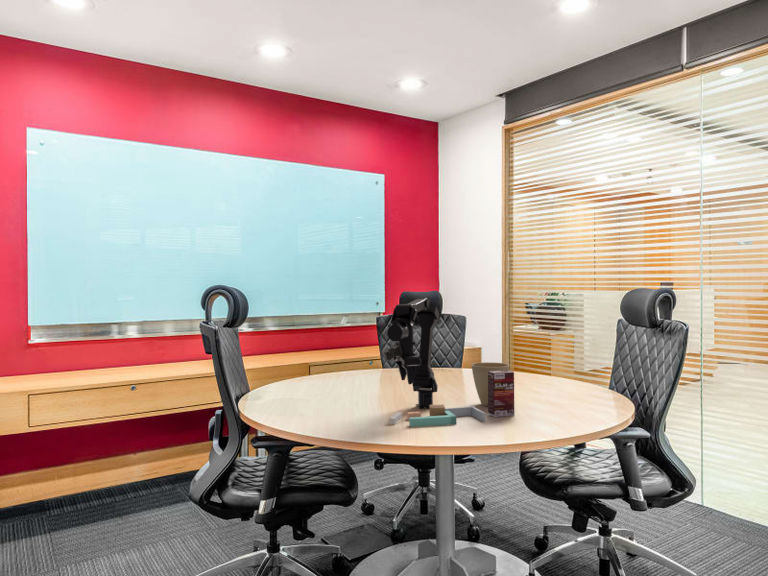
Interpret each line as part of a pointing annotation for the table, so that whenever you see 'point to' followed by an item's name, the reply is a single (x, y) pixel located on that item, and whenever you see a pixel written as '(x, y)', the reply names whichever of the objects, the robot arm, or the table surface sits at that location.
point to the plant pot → (485, 377)
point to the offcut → (413, 414)
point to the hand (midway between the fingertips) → (406, 382)
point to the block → (437, 410)
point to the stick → (395, 418)
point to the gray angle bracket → (467, 412)
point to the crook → (433, 420)
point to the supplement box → (501, 393)
